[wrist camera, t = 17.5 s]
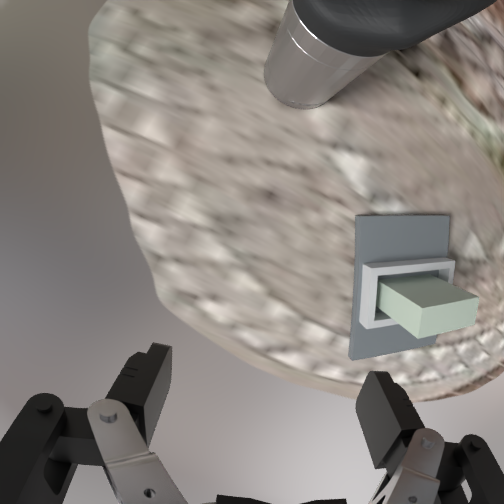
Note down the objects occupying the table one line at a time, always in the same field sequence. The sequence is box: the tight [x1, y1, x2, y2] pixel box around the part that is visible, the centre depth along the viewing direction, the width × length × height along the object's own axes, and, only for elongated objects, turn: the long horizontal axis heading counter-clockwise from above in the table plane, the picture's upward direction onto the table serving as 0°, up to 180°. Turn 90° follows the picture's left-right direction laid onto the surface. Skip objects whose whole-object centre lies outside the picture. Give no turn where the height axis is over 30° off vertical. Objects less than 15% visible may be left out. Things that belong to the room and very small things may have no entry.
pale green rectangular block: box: [376, 274, 479, 339], centre depth 35 cm, size 4×9×11 cm, turn 92°
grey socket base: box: [348, 215, 455, 361], centre depth 39 cm, size 20×15×4 cm
